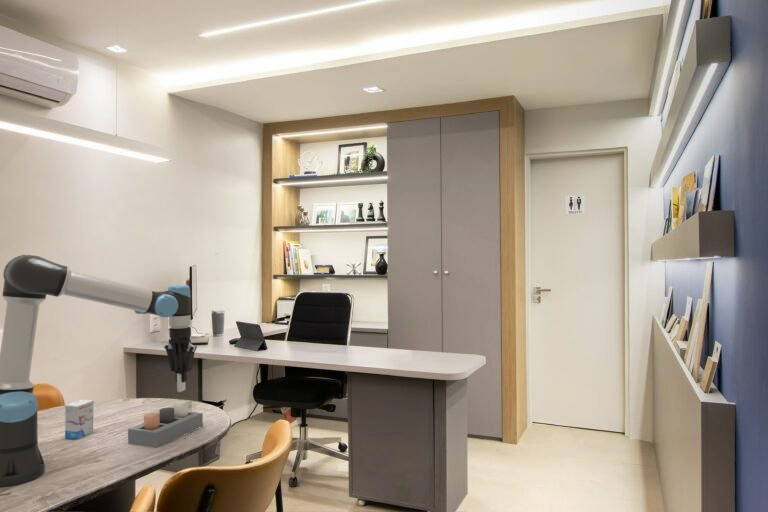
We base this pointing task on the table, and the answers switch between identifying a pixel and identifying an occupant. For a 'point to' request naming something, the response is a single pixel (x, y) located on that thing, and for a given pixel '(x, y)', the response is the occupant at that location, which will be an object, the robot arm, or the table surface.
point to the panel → (164, 431)
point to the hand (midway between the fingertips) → (181, 390)
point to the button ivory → (181, 410)
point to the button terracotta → (151, 421)
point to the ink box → (78, 419)
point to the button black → (166, 415)
